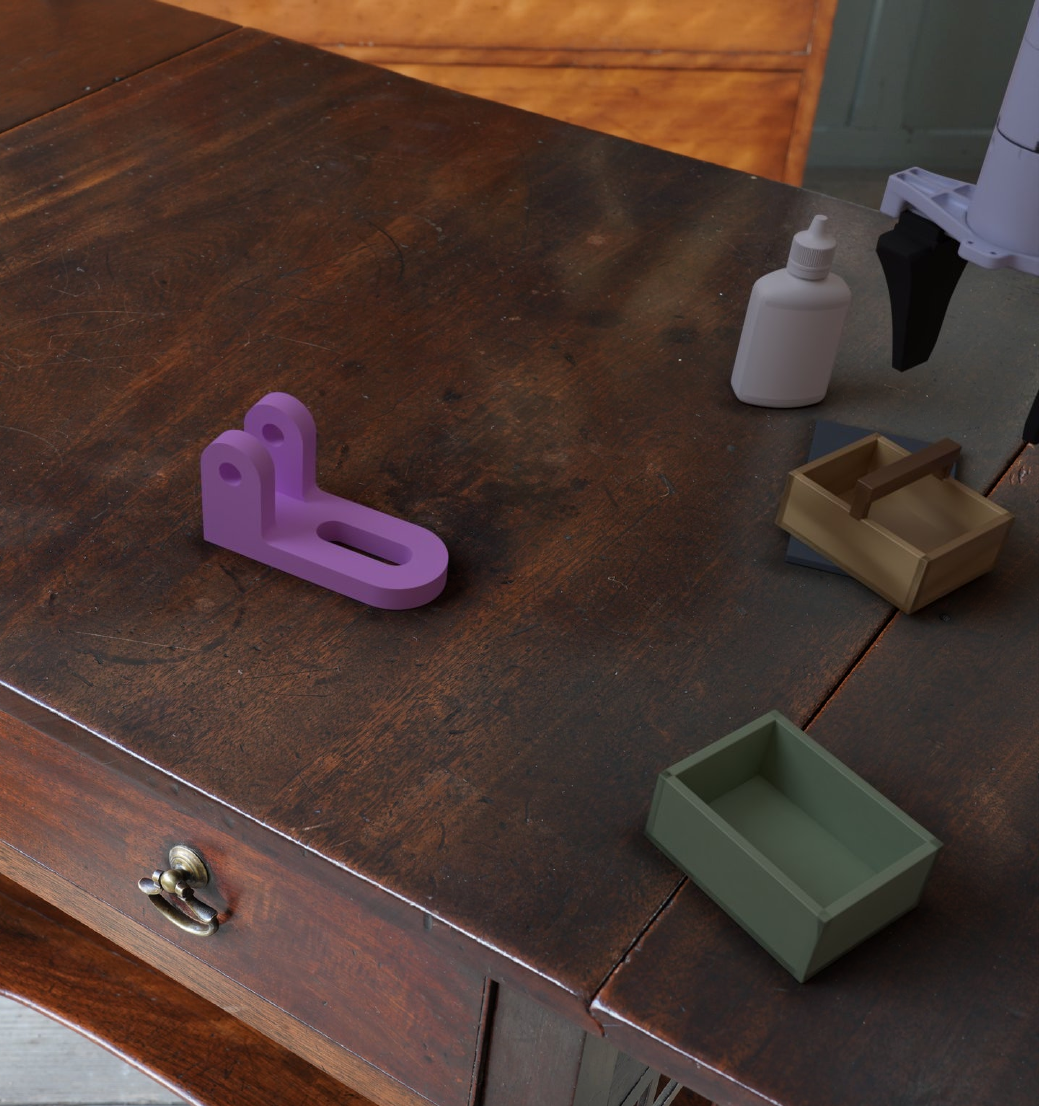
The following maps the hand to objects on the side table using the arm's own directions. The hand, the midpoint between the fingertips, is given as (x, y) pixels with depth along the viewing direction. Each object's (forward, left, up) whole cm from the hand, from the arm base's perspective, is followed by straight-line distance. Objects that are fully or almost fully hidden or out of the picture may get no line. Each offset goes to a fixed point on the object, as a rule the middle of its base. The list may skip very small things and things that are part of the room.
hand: (972, 398), depth 72 cm
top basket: (+1, +1, -10) cm, 10 cm away
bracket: (+17, +26, -10) cm, 33 cm away
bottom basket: (-11, +22, -10) cm, 27 cm away
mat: (+4, -2, -10) cm, 11 cm away
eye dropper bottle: (+15, -6, -11) cm, 20 cm away
